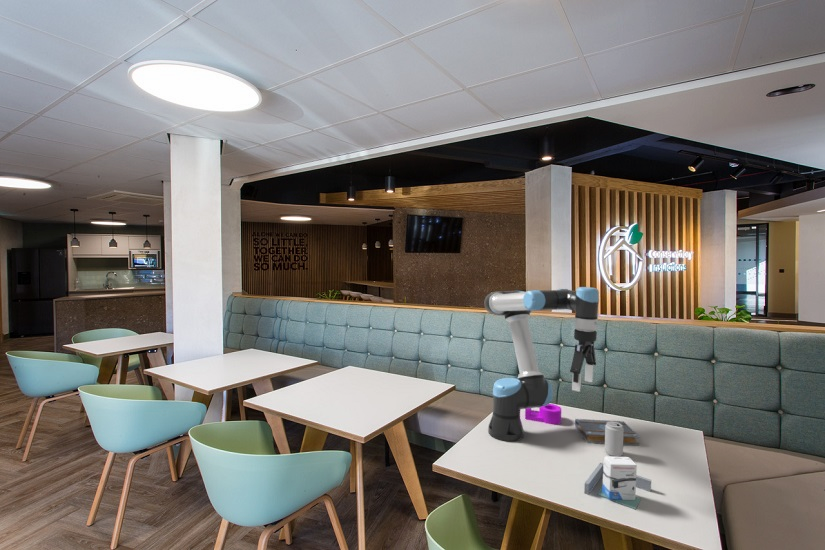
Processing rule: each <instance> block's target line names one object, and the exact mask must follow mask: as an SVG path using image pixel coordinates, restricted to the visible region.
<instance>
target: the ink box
mask: <svg viewBox="0 0 825 550" xmlns="http://www.w3.org/2000/svg"><path fill="white" fill-rule="evenodd" d="M603 464H604V465H603V475H602V486H601V488H602V491H603V492H604V494H605V495H606V496H607V497H608V498H609V499H610V500H609V499H608V500H609V501H612V500H635V496H636V489H637V487H636V475H637V468H638V467H637V463H635V462H634V461H633V459H632V458H631V457H629V456H620V457H613V456H610V455H608V456H607V455H605V456H604V457H603Z"/></svg>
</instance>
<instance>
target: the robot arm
mask: <svg viewBox="0 0 825 550" xmlns="http://www.w3.org/2000/svg"><path fill="white" fill-rule="evenodd" d="M599 292H600V291H599V289H598V288H596V287H590V286H589V287H588V286H579V287H577V288H576V290H571V289H568V288H559V289H555V290H554V289H550V290H549V289H547V290H546V289H545V290H538V289H536V290H535V289H534V290H532V289H531V290H528V291H522V290H501V291H500V290H498V291H492V292H490V293H488V294H487V295H486V297H485V298H484V301H483V302H484V303H483V304H484V308H485V310H486V311H487V312H488V313H489V314H491V315H494V316H503V317H504V318H505V319H504V320H505V321H506V322H507V323H508V324H509V328H510V329H509V330H510V332H511V333H510V334H511V337H512V343H513V347H514V351H515V357H516V362H517V363H516V364H517V367H518V371H519V374H518V376H517V378H516V377H503V378H499V379H498V380H495V382H494V384H493V388H492V416H491V419H490V422H489V424H488V427H487V428H488V429H487V431H488V434H489V435H490V436H491V437H492V438H494V439H496V440H498V441H499V440H500V441H503V442H504V441H505V442H517V441H520V440H522V439H523V438H524V435H525V434H524V433H525V430H524V426H523V422H522V420H521V410H525V409H527V408H531V409H534V408H539V407H542V406H547V405H548V404H551V401H552V399H553V396H554V392H553V391H554V390H553V385H552V384H551V383H550V381H549V379H546V378H545V375H544V374H543V373H542V372H541V371H540V370H539V366H538V361H537V357H536V352H535V348H534V343H533V339H532V335H531V329H530V325H529V318H530V317H531V316H530V315H531V313H532V312H533V311H534V312H535V311H547V310H549V311H550V310H551V311H553V310H554V311H555V310H556V311H557V310H568V311H574V312H575V315H574V332H573V333H574V335H573V339H575V340H576V341H578V344H575V345H574V352H573V356H572V362H571V367H570V369H569V372H570V373H572V380H571V391H573V392H581V387H582V386H581V383H582V373H581V372H582V368H583V364H584V362H586V363H585V364H584V365H585V366H584V367H585V368H584V381H585V382H588V383H593V379H594V366H596V365H597V362H596V361H597V359H596V352H595V342H596V341H597V336H598V335H597V334H598V331H597V329H598V325H599V321H598V315H599V303H600V296H599V294H600V293H599Z"/></svg>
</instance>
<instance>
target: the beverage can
mask: <svg viewBox="0 0 825 550" xmlns="http://www.w3.org/2000/svg"><path fill="white" fill-rule="evenodd" d="M608 421H609V422H607V424H606V425H605V443H604V452H605V453H606V455H608V456H613V457H623V455H624V453H623V452H624V444H623V432H624V429H623V425H622V424H620V423H618V422H613V421H614V420H608Z"/></svg>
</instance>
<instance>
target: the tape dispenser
mask: <svg viewBox="0 0 825 550" xmlns="http://www.w3.org/2000/svg"><path fill="white" fill-rule="evenodd" d="M524 410H525V411H524V418H525V419H526V420H525V419H524V420H525V421H532V422H538V423H544V424H548V425H559V424H561V423H562V407H561V406H559V405H557V404H553V403H549V404H548V405H547V406H542V407H539V409H538V410H534V409H533V410H532V408H527V409H524Z"/></svg>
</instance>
